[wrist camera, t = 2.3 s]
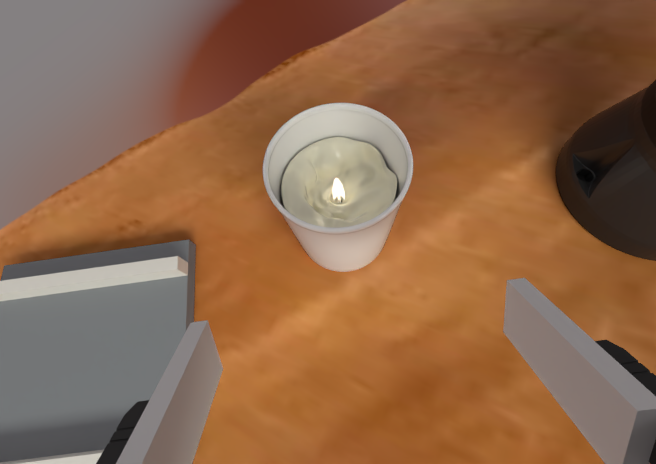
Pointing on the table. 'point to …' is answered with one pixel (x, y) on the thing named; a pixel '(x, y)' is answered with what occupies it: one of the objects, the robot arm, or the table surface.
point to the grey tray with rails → (86, 346)
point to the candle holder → (339, 181)
